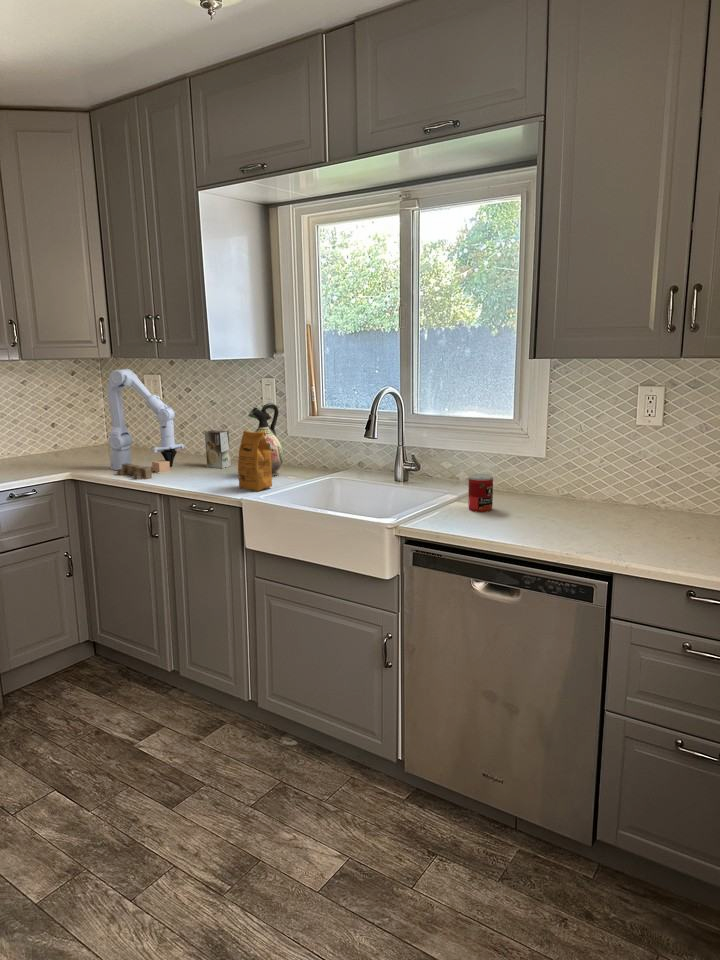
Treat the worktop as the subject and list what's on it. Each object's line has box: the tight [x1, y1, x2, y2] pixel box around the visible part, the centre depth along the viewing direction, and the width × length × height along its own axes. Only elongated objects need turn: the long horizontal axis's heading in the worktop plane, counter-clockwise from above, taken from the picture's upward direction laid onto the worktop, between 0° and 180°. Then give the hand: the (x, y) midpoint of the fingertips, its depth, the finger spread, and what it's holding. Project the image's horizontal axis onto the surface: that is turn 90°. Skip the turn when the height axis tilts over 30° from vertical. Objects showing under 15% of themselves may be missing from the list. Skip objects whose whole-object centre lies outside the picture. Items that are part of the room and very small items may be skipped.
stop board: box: [117, 463, 153, 480], centre depth 289 cm, size 20×5×4 cm, turn 47°
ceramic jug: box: [248, 402, 284, 477], centre depth 283 cm, size 17×15×30 cm
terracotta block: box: [151, 459, 171, 473], centre depth 298 cm, size 6×5×4 cm
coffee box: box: [204, 429, 232, 469], centre depth 306 cm, size 9×6×16 cm
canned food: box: [467, 473, 494, 513], centre depth 222 cm, size 8×8×11 cm
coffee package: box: [237, 429, 273, 492], centre depth 259 cm, size 10×12×22 cm
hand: (169, 466), depth 302 cm, fingers closed
